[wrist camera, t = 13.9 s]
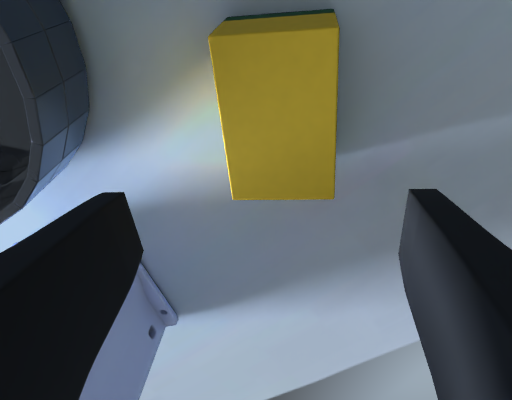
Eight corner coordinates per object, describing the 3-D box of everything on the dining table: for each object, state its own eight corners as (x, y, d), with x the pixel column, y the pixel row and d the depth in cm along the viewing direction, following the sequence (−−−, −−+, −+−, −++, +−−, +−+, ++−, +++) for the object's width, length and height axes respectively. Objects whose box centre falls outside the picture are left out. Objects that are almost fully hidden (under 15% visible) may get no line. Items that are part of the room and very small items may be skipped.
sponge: (226, 16, 16) (207, 35, 13) (334, 8, 15) (339, 26, 12) (243, 160, 20) (232, 200, 17) (330, 158, 19) (334, 199, 16)
